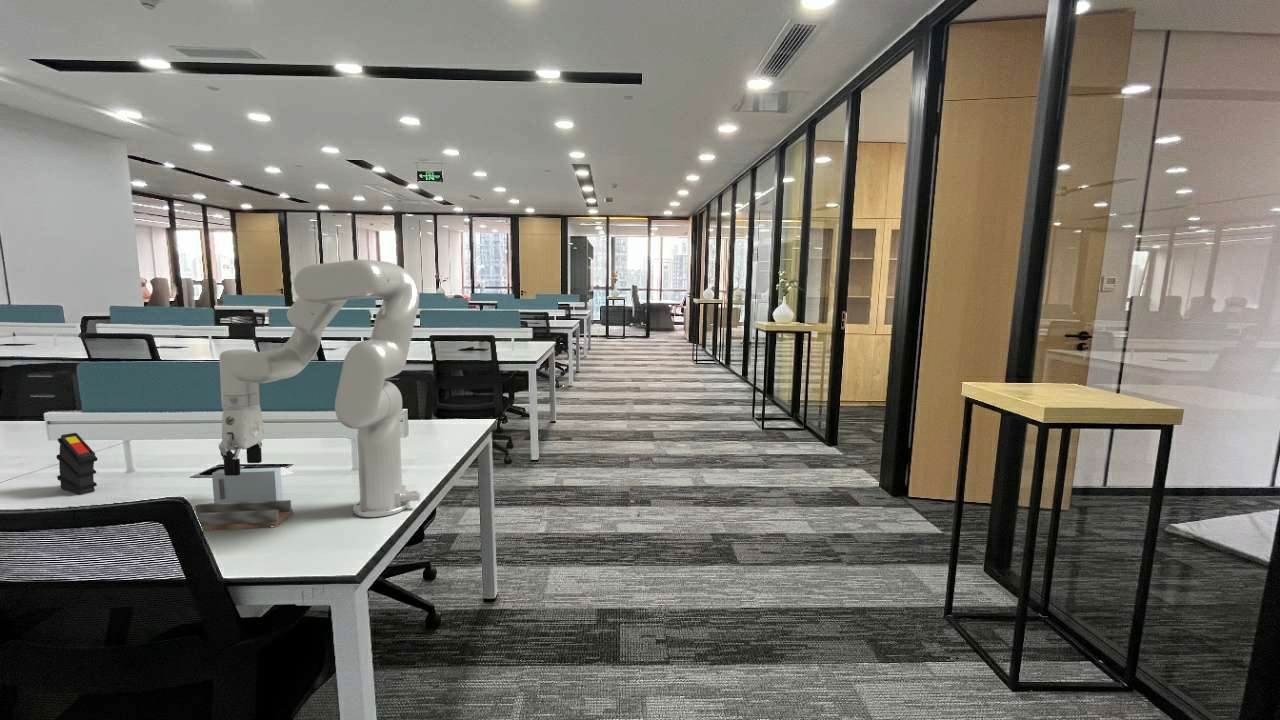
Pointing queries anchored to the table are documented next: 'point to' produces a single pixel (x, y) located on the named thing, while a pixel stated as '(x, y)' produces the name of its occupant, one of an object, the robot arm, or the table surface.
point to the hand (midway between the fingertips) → (243, 468)
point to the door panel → (248, 485)
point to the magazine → (76, 464)
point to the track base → (242, 514)
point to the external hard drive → (286, 472)
